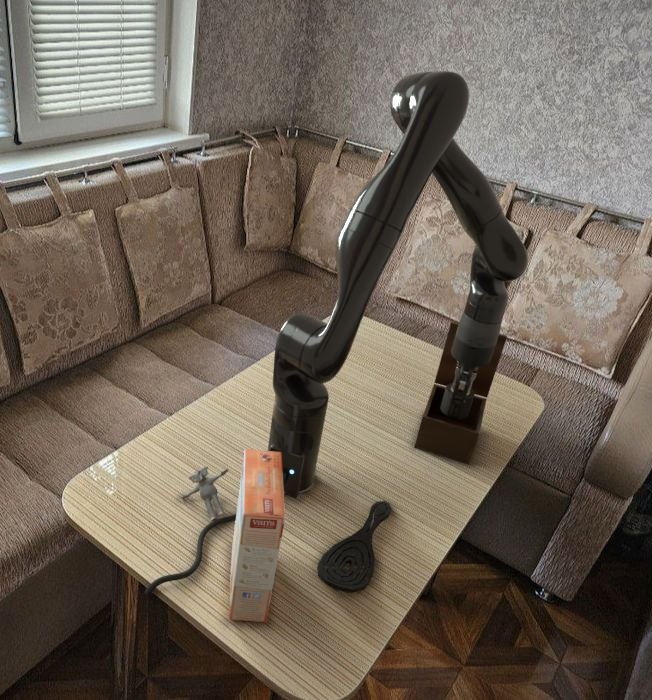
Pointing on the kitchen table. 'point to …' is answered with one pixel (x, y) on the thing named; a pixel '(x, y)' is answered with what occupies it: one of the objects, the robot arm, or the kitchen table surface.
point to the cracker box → (256, 535)
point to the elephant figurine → (207, 490)
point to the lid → (483, 373)
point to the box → (449, 429)
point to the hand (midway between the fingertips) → (454, 408)
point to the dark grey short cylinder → (449, 393)
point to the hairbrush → (353, 555)
